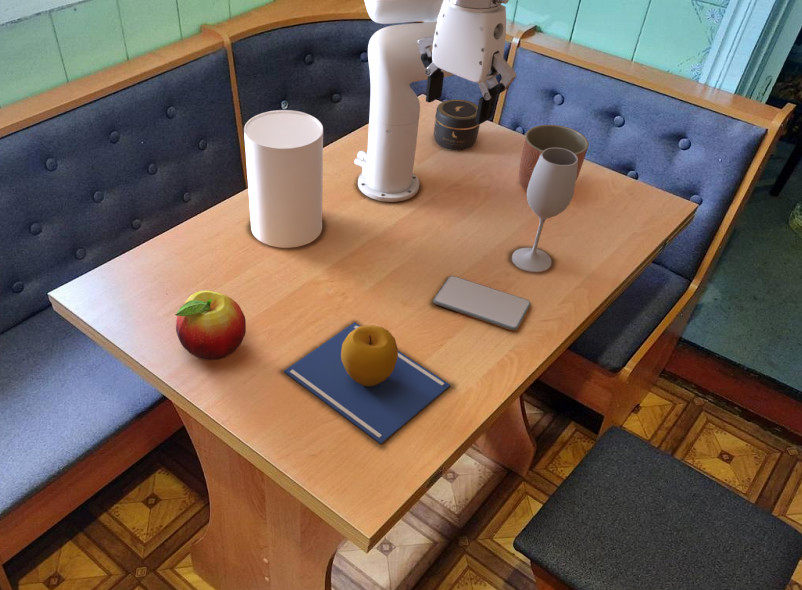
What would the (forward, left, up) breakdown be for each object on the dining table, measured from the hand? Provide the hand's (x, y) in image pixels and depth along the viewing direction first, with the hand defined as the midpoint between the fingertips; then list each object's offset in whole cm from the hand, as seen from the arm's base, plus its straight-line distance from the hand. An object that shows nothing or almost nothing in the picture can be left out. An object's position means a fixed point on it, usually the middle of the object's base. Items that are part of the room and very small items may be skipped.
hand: (457, 110), depth 113 cm
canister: (-26, -13, -28) cm, 41 cm away
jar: (-24, +37, -28) cm, 53 cm away
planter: (+1, +35, -28) cm, 45 cm away
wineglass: (+13, +12, -28) cm, 34 cm away
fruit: (-10, -44, -28) cm, 53 cm away
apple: (+12, -32, -28) cm, 44 cm away
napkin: (+12, -32, -28) cm, 44 cm away
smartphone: (+14, -5, -28) cm, 32 cm away
